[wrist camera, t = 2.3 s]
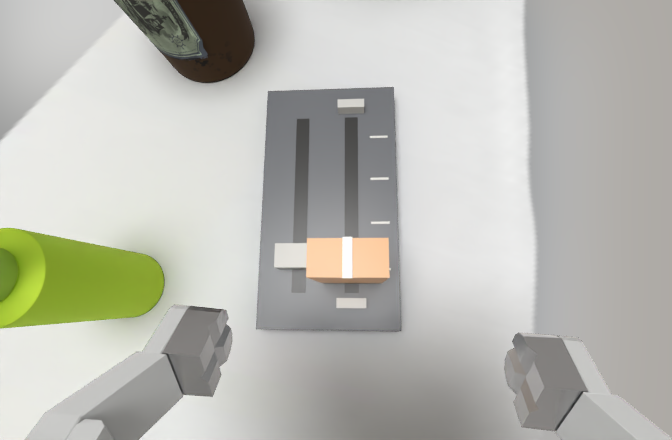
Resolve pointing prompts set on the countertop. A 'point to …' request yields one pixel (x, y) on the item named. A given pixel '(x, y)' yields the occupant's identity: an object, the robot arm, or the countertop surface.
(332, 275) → the fader lever
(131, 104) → the countertop surface
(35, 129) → the countertop surface
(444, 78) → the countertop surface
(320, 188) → the console
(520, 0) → the countertop surface
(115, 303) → the soap dispenser
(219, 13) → the olive oil
